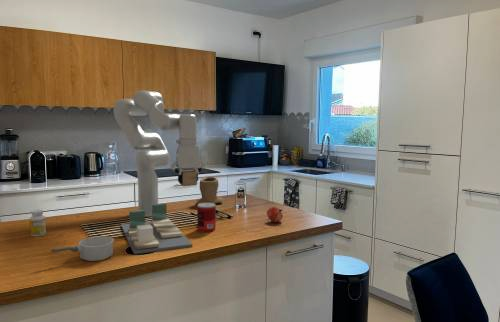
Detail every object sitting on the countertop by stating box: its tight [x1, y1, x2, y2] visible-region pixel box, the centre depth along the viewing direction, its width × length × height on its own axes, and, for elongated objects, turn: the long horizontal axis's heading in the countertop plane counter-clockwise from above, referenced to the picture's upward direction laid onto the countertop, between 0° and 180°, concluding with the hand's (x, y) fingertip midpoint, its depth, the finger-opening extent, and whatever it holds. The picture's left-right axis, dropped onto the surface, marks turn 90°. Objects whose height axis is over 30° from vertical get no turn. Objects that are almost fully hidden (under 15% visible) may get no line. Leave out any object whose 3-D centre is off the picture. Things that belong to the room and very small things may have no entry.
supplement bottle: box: [29, 209, 47, 237], centre depth 157 cm, size 5×5×10 cm
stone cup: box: [196, 176, 224, 204], centre depth 216 cm, size 15×12×15 cm
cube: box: [180, 169, 198, 187], centre depth 173 cm, size 6×6×6 cm
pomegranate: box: [266, 206, 284, 224], centre depth 181 cm, size 7×7×10 cm
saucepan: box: [50, 235, 115, 262], centre depth 131 cm, size 12×20×6 cm, turn 131°
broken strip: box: [128, 210, 159, 249], centre depth 150 cm, size 25×8×8 cm, turn 25°
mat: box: [120, 221, 193, 255], centre depth 158 cm, size 37×21×1 cm, turn 25°
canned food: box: [196, 203, 217, 233], centre depth 167 cm, size 8×8×11 cm
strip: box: [150, 203, 183, 238], centre depth 163 cm, size 25×8×8 cm, turn 25°
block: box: [137, 224, 153, 243], centre depth 145 cm, size 5×5×5 cm
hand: (188, 182), depth 173 cm, fingers closed on cube, 6 cm apart
